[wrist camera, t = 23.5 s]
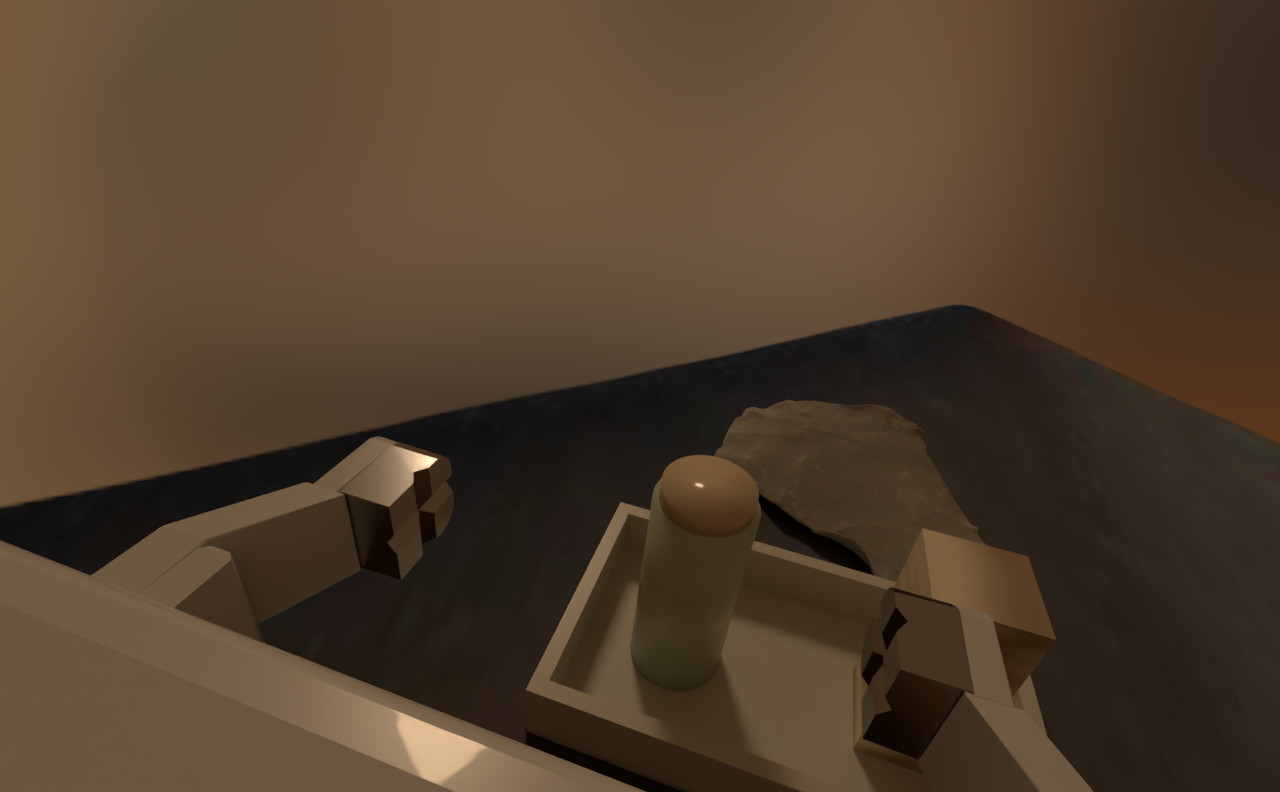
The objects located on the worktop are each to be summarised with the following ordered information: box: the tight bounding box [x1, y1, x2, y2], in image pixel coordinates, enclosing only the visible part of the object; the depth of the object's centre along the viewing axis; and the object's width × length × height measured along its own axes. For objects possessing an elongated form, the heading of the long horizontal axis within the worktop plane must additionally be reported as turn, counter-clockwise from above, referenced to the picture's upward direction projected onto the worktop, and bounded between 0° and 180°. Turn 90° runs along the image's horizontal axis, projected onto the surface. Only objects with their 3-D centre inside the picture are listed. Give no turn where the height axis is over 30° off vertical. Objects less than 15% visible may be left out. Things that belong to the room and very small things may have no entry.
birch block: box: [853, 528, 1056, 773], centre depth 28 cm, size 4×4×11 cm
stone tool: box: [714, 400, 986, 582], centre depth 46 cm, size 20×3×25 cm
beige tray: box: [526, 502, 1047, 792], centre depth 32 cm, size 24×14×4 cm, turn 73°
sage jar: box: [630, 455, 761, 691], centre depth 30 cm, size 5×5×12 cm
